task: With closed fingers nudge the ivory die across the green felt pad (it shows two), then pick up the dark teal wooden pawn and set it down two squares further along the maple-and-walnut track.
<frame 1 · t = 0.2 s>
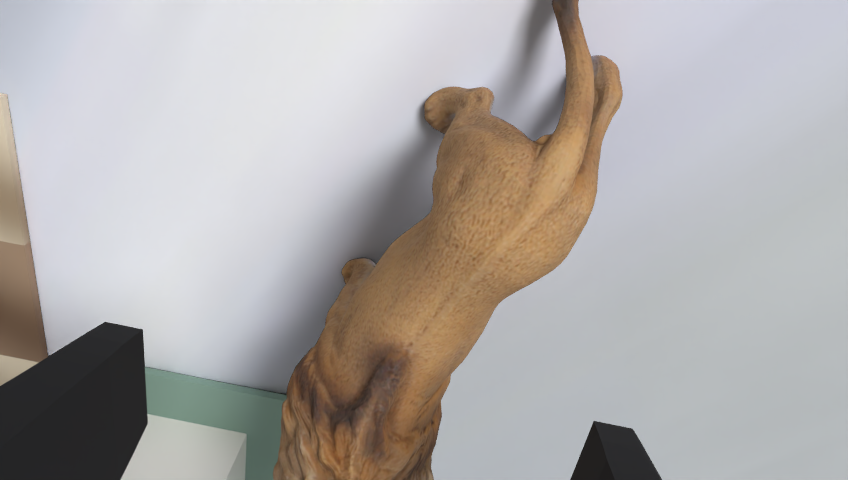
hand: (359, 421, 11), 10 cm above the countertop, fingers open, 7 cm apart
felt pad: (222, 459, 27), on the countertop
lion figurine: (459, 220, 21), on the countertop
die: (194, 460, 26), resting on felt pad
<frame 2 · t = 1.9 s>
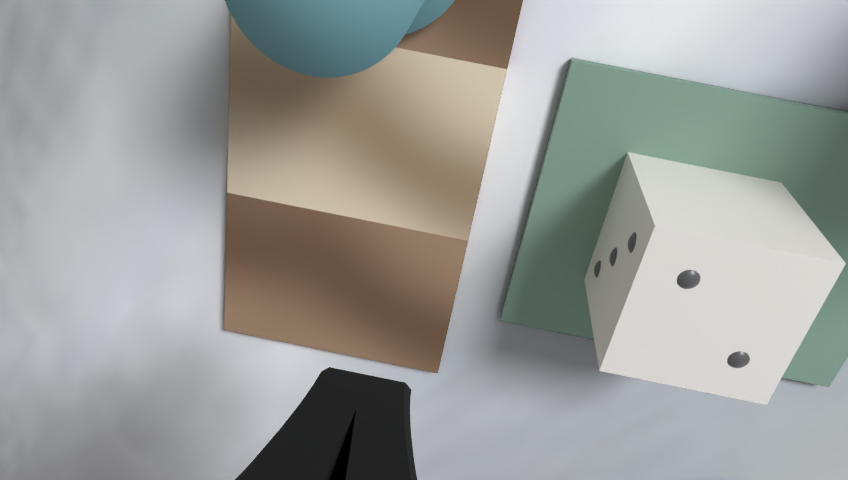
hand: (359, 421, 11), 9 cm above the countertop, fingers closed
felt pad: (711, 235, 19), on the countertop
track: (370, 39, 17), on the countertop
die: (677, 233, 19), resting on felt pad
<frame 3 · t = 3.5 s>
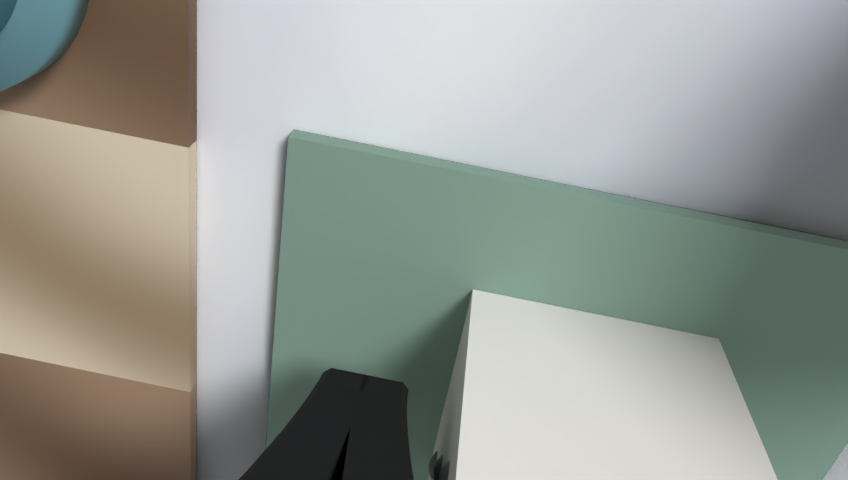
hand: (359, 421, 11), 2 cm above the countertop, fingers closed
felt pad: (551, 392, 12), on the countertop
die: (562, 404, 12), resting on felt pad, touching gripper
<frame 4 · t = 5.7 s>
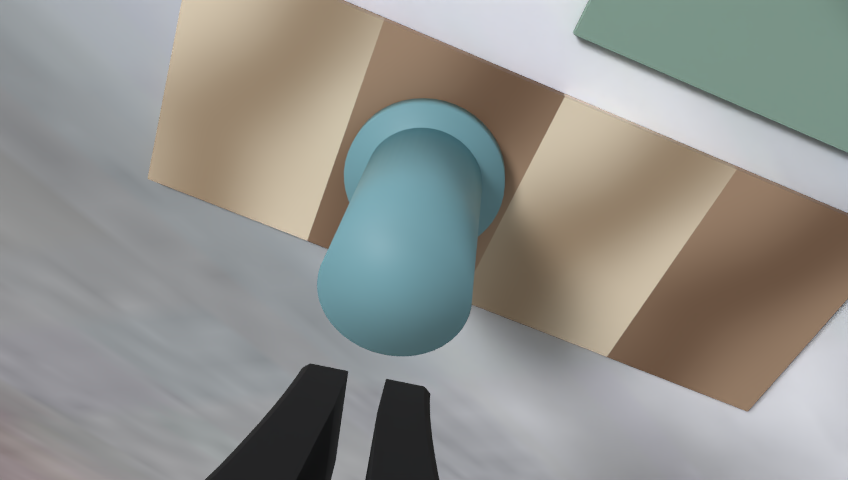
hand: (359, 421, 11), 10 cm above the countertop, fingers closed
pawn: (425, 174, 19), resting on track
track: (507, 202, 20), on the countertop
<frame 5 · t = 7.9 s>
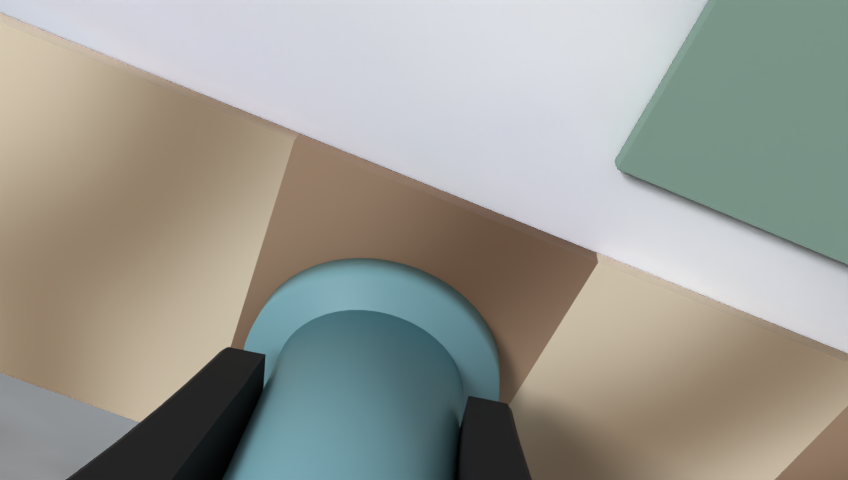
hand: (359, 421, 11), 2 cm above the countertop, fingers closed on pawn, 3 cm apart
pawn: (374, 364, 12), resting on track, touching gripper
track: (504, 401, 13), on the countertop
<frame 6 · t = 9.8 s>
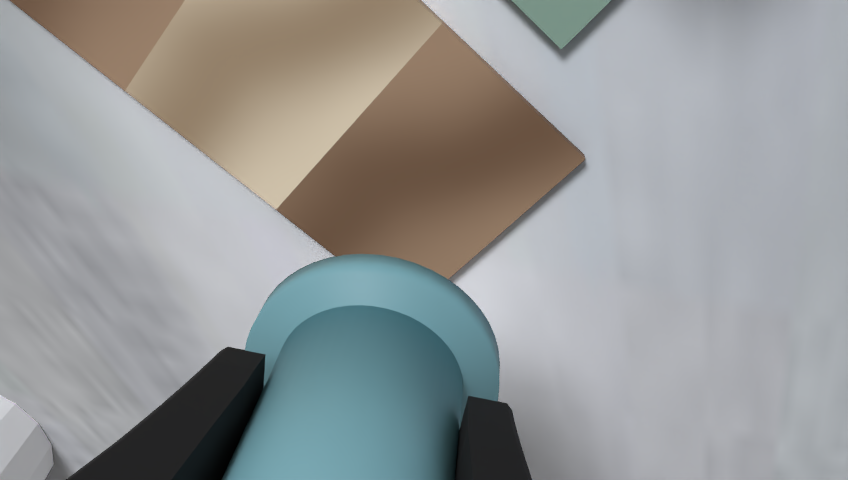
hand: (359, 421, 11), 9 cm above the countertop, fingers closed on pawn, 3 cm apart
pawn: (375, 359, 12), point 8 cm above the countertop, touching gripper
when the fingers open (3 cm above the countertop, at t = 11.6 s): pawn drops 1 cm, resting on track.
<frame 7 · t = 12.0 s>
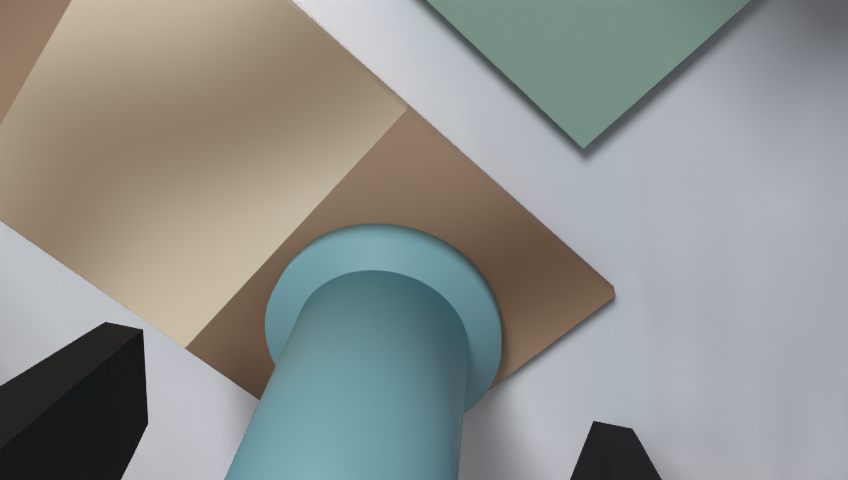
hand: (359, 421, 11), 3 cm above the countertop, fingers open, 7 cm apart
pawn: (386, 324, 13), resting on track
track: (50, 51, 12), on the countertop
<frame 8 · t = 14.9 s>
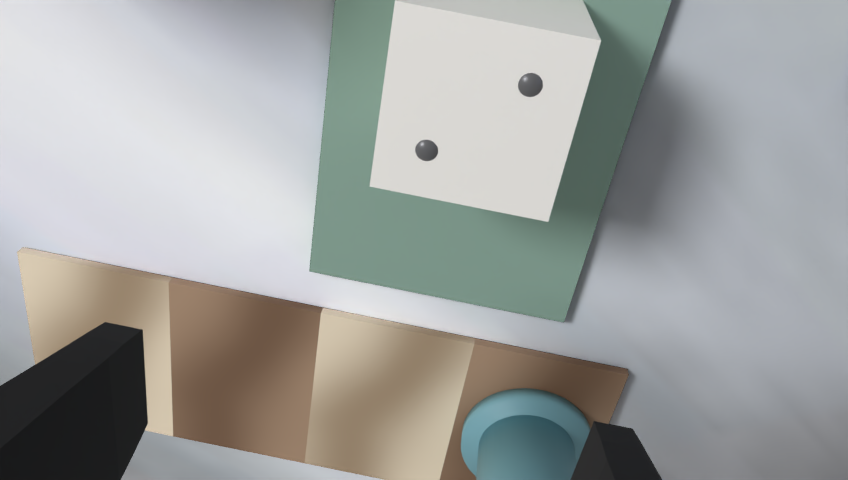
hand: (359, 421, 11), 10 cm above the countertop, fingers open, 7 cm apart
felt pad: (468, 144, 19), on the countertop
pawn: (526, 437, 24), resting on track
track: (314, 387, 24), on the countertop
die: (483, 65, 18), resting on felt pad
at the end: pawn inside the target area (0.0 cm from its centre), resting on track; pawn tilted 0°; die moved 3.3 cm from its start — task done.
